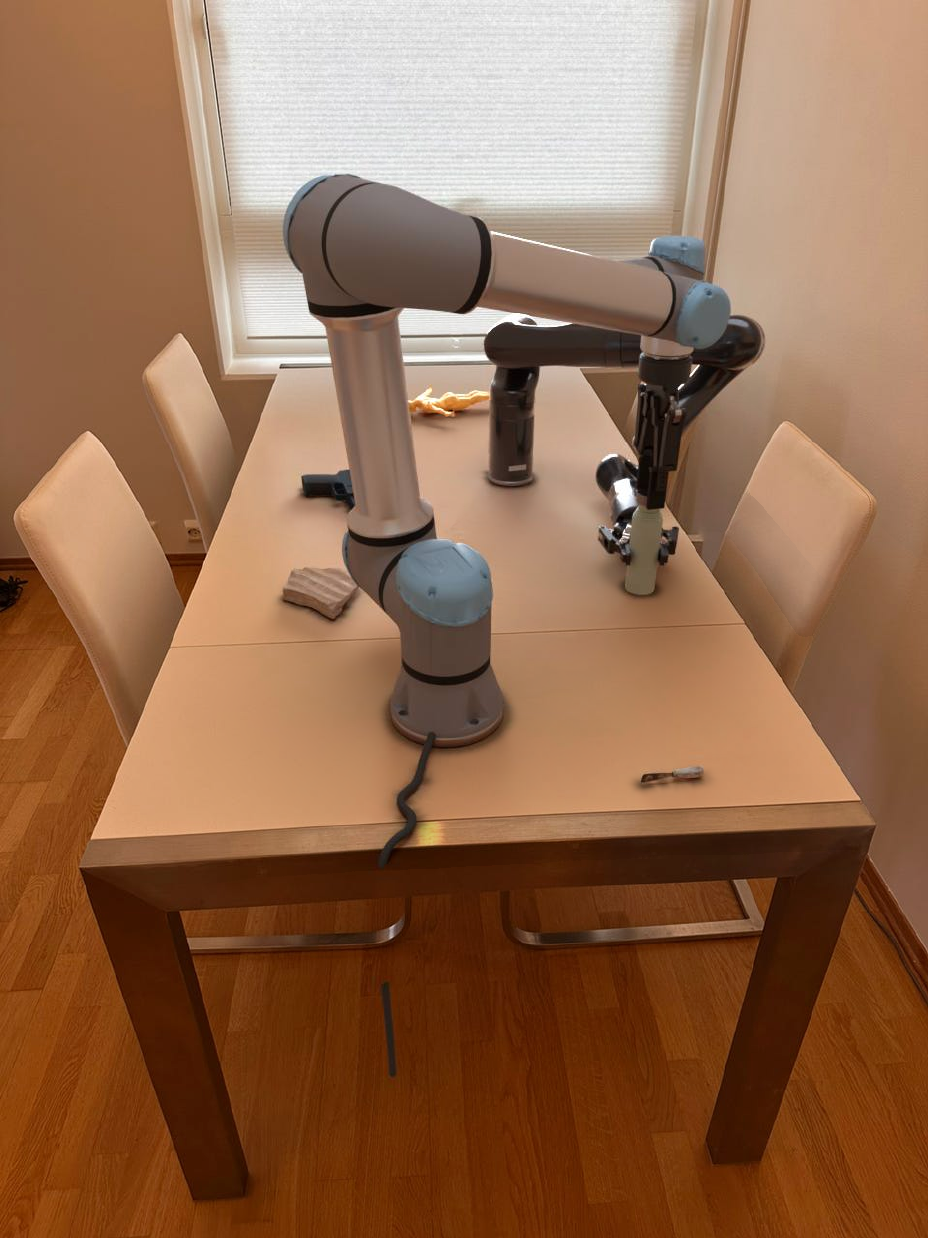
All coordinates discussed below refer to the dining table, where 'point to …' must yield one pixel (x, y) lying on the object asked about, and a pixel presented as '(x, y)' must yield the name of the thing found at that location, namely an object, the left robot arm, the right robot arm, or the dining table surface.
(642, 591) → the bottle
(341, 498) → the handgun
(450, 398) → the human figure
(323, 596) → the stone
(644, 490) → the cap
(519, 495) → the dining table surface
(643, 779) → the putty knife
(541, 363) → the right robot arm
